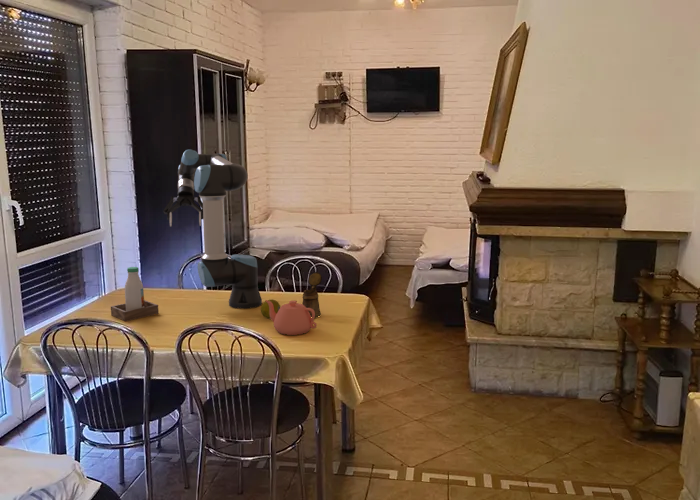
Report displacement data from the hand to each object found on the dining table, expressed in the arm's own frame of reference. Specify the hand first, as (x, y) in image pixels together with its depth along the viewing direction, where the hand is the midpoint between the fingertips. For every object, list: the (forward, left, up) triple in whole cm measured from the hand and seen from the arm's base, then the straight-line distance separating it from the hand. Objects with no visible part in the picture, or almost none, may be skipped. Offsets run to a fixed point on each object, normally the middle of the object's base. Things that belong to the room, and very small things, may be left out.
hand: (185, 224), depth 301 cm
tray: (-9, +32, -36) cm, 49 cm away
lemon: (-55, -7, -36) cm, 66 cm away
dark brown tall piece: (-64, -23, -36) cm, 77 cm away
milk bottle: (-9, +32, -35) cm, 48 cm away
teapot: (-75, -1, -36) cm, 83 cm away
